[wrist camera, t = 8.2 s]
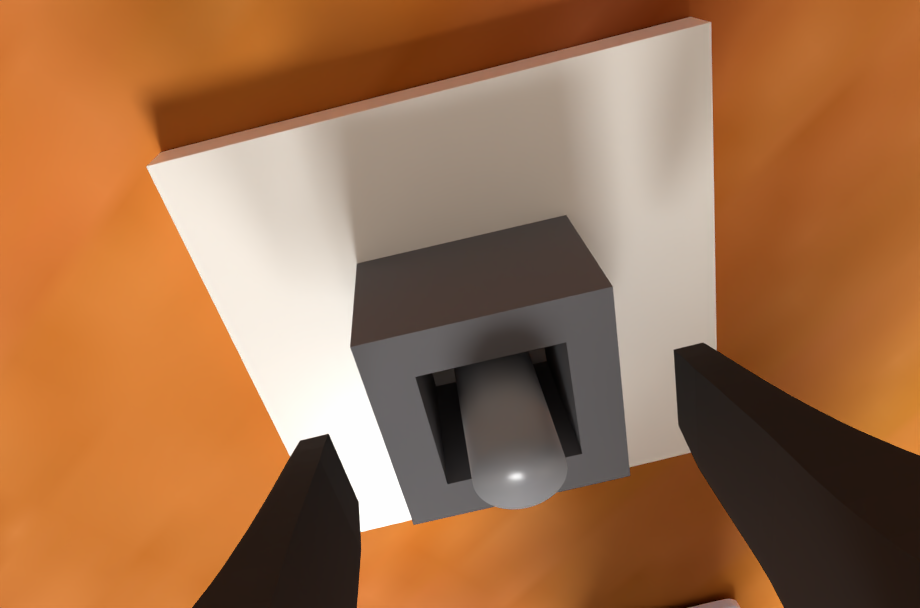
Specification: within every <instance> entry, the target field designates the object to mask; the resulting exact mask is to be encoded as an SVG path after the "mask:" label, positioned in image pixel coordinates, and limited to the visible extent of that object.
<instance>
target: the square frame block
mask: <svg viewBox="0 0 920 608" xmlns="http://www.w3.org/2000/svg"><path fill="white" fill-rule="evenodd" d="M350 348H351V351H352V354H353V357H354V359H355V362H356V365H357V368H358V371H359V373H360V376H361V379H362V382H363V385H364V387H365V390H366V393H367V396H368V399H369V401H370V404H371V407H372V410H373V413H374V415H375V418H376V421H377V424H378V426H379V429H380V432H381V435H382V438H383V440H384V443H385V446H386V449H387V452H388V454H389V457H390V460H391V463H392V466H393V468H394V471H395V474H396V477H397V480H398V482H399V485H400V488H401V491H402V494H403V496H404V499H405V502H406V505H407V507H408V510H409V513H410V516H411V519H412V521H413V524H414V525H415V524H420V523H424V522H428V521H433V520H437V519H442V518H446V517H451V516H455V515H459V514H464V513H468V512H473V511H477V510H481V509H486V508H490V507H495V506H492V505H490V504H488V503H486V502H485V501H483V500H482V499H481V498H480V497H479V496H478V495H477V493H476V491H475V489H474V487H473V483H472V477H471V471H470V464H469V458H468V452H467V446H466V440H465V434H464V428H463V421H462V415H461V409H460V403H459V397H458V391H457V385H456V382H453V383H448V384H444V385H440V386H436V384H435V381H434V377H433V374H432V373H435V372H439V371H443V370H448V369H452V368H456V367H461V366H465V365H469V364H474V363H478V362H483V361H487V360H491V359H496V358H500V357H504V356H509V355H513V354H517V353H522V352H526V351H531V350H535V349H539V348H545V354H546V360H547V361H544V362H540V363H536V364H533V366H534V369H535V372H536V375H537V378H538V380H539V383H540V386H541V389H542V392H543V395H544V398H545V401H546V403H547V406H548V409H549V412H550V415H551V418H552V421H553V424H554V426H555V429H556V432H557V435H558V438H559V441H560V444H561V446H562V449H563V452H564V455H565V458H566V461H567V467H568V470H567V476H566V479H565V481H564V483H563V485H562V486H561V488H560V489H559V490H558V491H557V492H561V491H565V490H570V489H574V488H579V487H583V486H588V485H592V484H596V483H601V482H605V481H610V480H614V479H619V478H623V477H627V476H630V468H629V457H628V446H627V436H626V425H625V414H624V403H623V392H622V381H621V370H620V359H619V348H618V337H617V326H616V315H615V305H614V294H613V286H612V285H611V283H610V281H609V280H608V278H607V277H606V275H605V274H604V272H603V271H602V269H601V268H600V266H599V265H598V263H597V261H596V260H595V258H594V257H593V255H592V254H591V252H590V251H589V249H588V248H587V246H586V245H585V243H584V242H583V240H582V238H581V237H580V235H579V234H578V232H577V231H576V229H575V228H574V226H573V225H572V223H571V222H570V220H569V218H568V217H567V215H564V216H559V217H555V218H551V219H546V220H542V221H538V222H534V223H529V224H525V225H521V226H516V227H512V228H508V229H503V230H499V231H495V232H490V233H486V234H482V235H477V236H473V237H469V238H465V239H460V240H456V241H452V242H447V243H443V244H439V245H434V246H430V247H426V248H421V249H417V250H413V251H409V252H404V253H400V254H396V255H391V256H387V257H383V258H378V259H374V260H370V261H365V262H361V263H357V267H356V279H355V292H354V304H353V317H352V329H351V342H350ZM557 492H556V493H557Z"/></svg>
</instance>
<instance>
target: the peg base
mask: <svg viewBox="0 0 920 608" xmlns="http://www.w3.org/2000/svg"><path fill="white" fill-rule="evenodd" d="M146 167H147V169H148V171H149V173H150V175H151V177H152V179H153V181H154V183H155V185H156V187H157V189H158V191H159V193H160V195H161V197H162V199H163V201H164V203H165V205H166V207H167V209H168V211H169V213H170V215H171V217H172V219H173V221H174V223H175V225H176V228H177V230H178V232H179V234H180V236H181V238H182V240H183V242H184V244H185V246H186V248H187V250H188V252H189V254H190V256H191V258H192V260H193V262H194V264H195V266H196V268H197V270H198V272H199V274H200V276H201V278H202V280H203V282H204V284H205V286H206V288H207V290H208V292H209V294H210V296H211V298H212V300H213V302H214V304H215V306H216V308H217V310H218V312H219V314H220V316H221V318H222V320H223V322H224V324H225V326H226V328H227V330H228V332H229V334H230V336H231V338H232V340H233V342H234V344H235V346H236V348H237V350H238V352H239V354H240V356H241V358H242V360H243V362H244V365H245V367H246V369H247V371H248V373H249V375H250V377H251V379H252V381H253V383H254V385H255V387H256V389H257V391H258V393H259V395H260V397H261V399H262V401H263V403H264V405H265V407H266V409H267V411H268V413H269V415H270V417H271V419H272V421H273V423H274V425H275V427H276V429H277V431H278V433H279V435H280V437H281V439H282V441H283V443H284V445H285V447H286V449H287V451H288V453H289V455H290V456H291V455H292V453H293V451H294V450H295V448H296V446H297V445H298V443H299V441H300V440H304V439H308V438H313V437H317V436H321V435H325V434H329V435H330V438H331V440H332V442H333V445H334V447H335V449H336V451H337V454H338V456H339V458H340V461H341V463H342V465H343V467H344V470H345V472H346V474H347V476H348V479H349V481H350V483H351V486H352V488H353V490H354V492H355V495H356V497H357V499H358V501H359V515H360V532H362V531H366V530H371V529H375V528H379V527H383V526H387V525H391V524H396V523H400V522H404V521H408V520H412V519H411V516H410V513H409V510H408V507H407V505H406V502H405V499H404V496H403V494H402V491H401V488H400V485H399V482H398V480H397V477H396V474H395V471H394V468H393V466H392V463H391V460H390V457H389V454H388V452H387V449H386V446H385V443H384V440H383V438H382V435H381V432H380V429H379V426H378V424H377V421H376V418H375V415H374V413H373V410H372V407H371V404H370V401H369V399H368V396H367V393H366V390H365V387H364V385H363V382H362V379H361V376H360V373H359V371H358V368H357V365H356V362H355V359H354V357H353V354H352V351H351V348H350V342H351V329H352V317H353V304H354V292H355V279H356V267H357V263H361V262H365V261H370V260H374V259H378V258H383V257H387V256H391V255H396V254H400V253H404V252H409V251H413V250H417V249H421V248H426V247H430V246H434V245H439V244H443V243H447V242H452V241H456V240H460V239H465V238H469V237H473V236H477V235H482V234H486V233H490V232H495V231H499V230H503V229H508V228H512V227H516V226H521V225H525V224H529V223H534V222H538V221H542V220H546V219H551V218H555V217H559V216H564V215H567V217H568V218H569V220H570V222H571V223H572V225H573V226H574V228H575V229H576V231H577V232H578V234H579V235H580V237H581V238H582V240H583V242H584V243H585V245H586V246H587V248H588V249H589V251H590V252H591V254H592V255H593V257H594V258H595V260H596V261H597V263H598V265H599V266H600V268H601V269H602V271H603V272H604V274H605V275H606V277H607V278H608V280H609V281H610V283H611V285H612V286H613V294H614V305H615V315H616V326H617V337H618V348H619V359H620V370H621V381H622V392H623V403H624V414H625V425H626V436H627V446H628V457H629V467H633V466H637V465H641V464H645V463H650V462H654V461H658V460H662V459H666V458H670V457H675V456H679V455H683V454H687V453H691V451H690V449H689V447H688V445H687V443H686V441H685V439H684V436H683V434H682V432H681V430H680V428H679V426H678V413H677V397H676V381H675V365H674V349H678V348H682V347H686V346H690V345H695V344H699V343H705V344H707V345H708V346H710V347H712V348H713V349H715V350H716V351H717V337H716V278H715V218H714V159H713V99H712V40H711V22H709V21H705V20H701V19H698V18H694V17H688V18H684V19H680V20H676V21H672V22H668V23H664V24H660V25H656V26H652V27H648V28H645V29H641V30H637V31H633V32H629V33H625V34H621V35H617V36H613V37H609V38H605V39H602V40H598V41H594V42H590V43H586V44H582V45H578V46H574V47H570V48H566V49H562V50H559V51H555V52H551V53H547V54H543V55H539V56H535V57H531V58H527V59H523V60H519V61H516V62H512V63H508V64H504V65H500V66H496V67H492V68H488V69H484V70H480V71H476V72H472V73H469V74H465V75H461V76H457V77H453V78H449V79H445V80H441V81H437V82H433V83H429V84H426V85H422V86H418V87H414V88H410V89H406V90H402V91H398V92H394V93H390V94H386V95H383V96H379V97H375V98H371V99H367V100H363V101H359V102H355V103H351V104H347V105H343V106H340V107H336V108H332V109H328V110H324V111H320V112H316V113H312V114H308V115H304V116H300V117H297V118H293V119H289V120H285V121H281V122H277V123H273V124H269V125H265V126H261V127H257V128H254V129H250V130H246V131H242V132H238V133H234V134H230V135H226V136H222V137H218V138H214V139H210V140H207V141H203V142H199V143H195V144H191V145H187V146H183V147H179V148H175V149H171V150H167V151H164V152H160V153H159V154H158V155H157V156H156V157H155V158H154V159H153V160H152V161H151V162H150V163H149V164H148V165H147V166H146ZM544 361H547V360H546V354H545V348H539V349H535V350H531V351H526V352H522V353H517V354H513V355H509V356H504V357H500V358H496V359H491V360H487V361H483V362H478V363H474V364H469V365H465V366H461V367H456V368H452V369H448V370H443V371H439V372H435V373H432V374H433V377H434V381H435V384H436V386H440V385H444V384H448V383H453V382H456V385H457V391H458V397H459V403H460V409H461V415H462V421H463V428H464V434H465V440H466V446H467V452H468V458H469V464H470V471H471V477H472V483H473V487H474V489H475V491H476V493H477V495H478V496H479V497H480V498H481V499H482V500H483V501H485V502H486V503H488V504H490V505H492V506H495V507H498V508H503V509H523V508H528V507H532V506H535V505H537V504H540V503H542V502H544V501H546V500H547V499H549V498H550V497H552V496H553V495H554V494H555V493H556V492H557V491H558V490H559V489H560V488H561V486H562V485H563V483H564V481H565V479H566V476H567V470H568V467H567V461H566V458H565V455H564V452H563V449H562V446H561V444H560V441H559V438H558V435H557V432H556V429H555V426H554V424H553V421H552V418H551V415H550V412H549V409H548V406H547V403H546V401H545V398H544V395H543V392H542V389H541V386H540V383H539V380H538V378H537V375H536V372H535V369H534V366H533V364H536V363H540V362H544Z"/></svg>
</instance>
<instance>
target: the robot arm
mask: <svg viewBox="0 0 920 608" xmlns="http://www.w3.org/2000/svg"><path fill="white" fill-rule="evenodd" d="M674 365H675V381H676V397H677V413H678V426H679V428H680V430H681V432H682V434H683V436H684V439H685V441H686V443H687V445H688V447H689V449H690V451H691V453H692V455H693V457H694V459H695V462H696V464H697V466H698V468H699V469H700V471H701V473H702V474H703V476H704V477H705V479H706V480H707V482H708V484H709V485H710V487H711V488H712V490H713V491H714V493H715V495H716V496H717V498H718V499H719V501H720V502H721V504H722V506H723V507H724V509H725V510H726V512H727V513H728V515H729V516H730V518H731V519H732V521H733V523H734V524H735V526H736V527H737V529H738V530H739V532H740V533H741V535H742V536H743V538H744V540H745V541H746V543H747V544H748V546H749V547H750V549H751V550H752V552H753V553H754V555H755V557H756V558H757V560H758V561H759V563H760V565H761V566H762V568H763V570H764V571H765V573H766V575H767V576H768V578H769V580H770V582H771V583H772V585H773V587H774V589H775V591H776V593H777V595H778V597H779V599H780V601H781V603H782V605H783V607H784V608H920V456H919V455H916V454H914V453H911V452H909V451H906V450H904V449H901V448H899V447H896V446H894V445H892V444H889V443H887V442H885V441H882V440H880V439H878V438H875V437H873V436H871V435H868V434H866V433H864V432H861V431H859V430H857V429H855V428H853V427H850V426H848V425H846V424H844V423H842V422H840V421H838V420H836V419H834V418H832V417H830V416H828V415H826V414H824V413H822V412H820V411H818V410H816V409H814V408H813V407H811V406H809V405H807V404H805V403H803V402H801V401H800V400H798V399H796V398H794V397H792V396H791V395H789V394H787V393H785V392H784V391H782V390H780V389H778V388H777V387H775V386H773V385H771V384H770V383H768V382H766V381H765V380H763V379H761V378H760V377H758V376H756V375H755V374H753V373H752V372H750V371H748V370H747V369H745V368H744V367H742V366H740V365H739V364H737V363H736V362H734V361H732V360H731V359H729V358H728V357H726V356H724V355H723V354H721V353H720V352H718V351H716V350H715V349H713V348H712V347H710V346H708V345H707V344H705V343H699V344H695V345H690V346H686V347H682V348H678V349H674ZM360 556H361V536H360V515H359V501H358V499H357V497H356V495H355V492H354V490H353V488H352V486H351V483H350V481H349V479H348V476H347V474H346V472H345V470H344V467H343V465H342V463H341V461H340V458H339V456H338V454H337V451H336V449H335V447H334V445H333V442H332V440H331V438H330V435H329V434H325V435H321V436H317V437H313V438H308V439H304V440H300V441H299V443H298V445H297V446H296V448H295V450H294V451H293V453H292V455H291V456H290V458H289V460H288V462H287V464H286V465H285V467H284V469H283V471H282V472H281V474H280V476H279V478H278V480H277V481H276V483H275V485H274V487H273V488H272V490H271V492H270V494H269V495H268V497H267V499H266V500H265V502H264V504H263V505H262V507H261V509H260V510H259V512H258V514H257V515H256V517H255V519H254V520H253V522H252V524H251V525H250V527H249V528H248V530H247V532H246V533H245V535H244V536H243V538H242V539H241V541H240V542H239V544H238V545H237V547H236V548H235V550H234V551H233V553H232V554H231V556H230V557H229V559H228V560H227V562H226V563H225V565H224V566H223V568H222V569H221V571H220V572H219V573H218V575H217V576H216V577H215V579H214V580H213V582H212V583H211V584H210V586H209V587H208V588H207V590H206V591H205V592H204V593H203V595H202V596H201V597H200V598H199V600H198V601H197V602H196V603H195V605H194V606H193V607H192V608H357V597H358V584H359V570H360ZM688 608H740V606H739V604H738V602H737V601H736V600H734V599H722V600H718V601H714V602H710V603H705V604H701V605H697V606H692V607H688Z"/></svg>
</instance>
